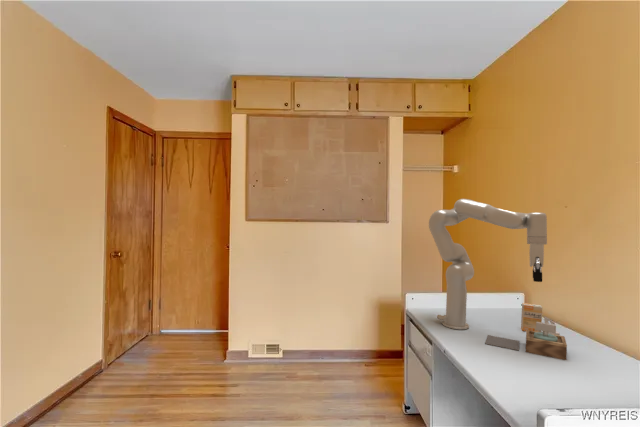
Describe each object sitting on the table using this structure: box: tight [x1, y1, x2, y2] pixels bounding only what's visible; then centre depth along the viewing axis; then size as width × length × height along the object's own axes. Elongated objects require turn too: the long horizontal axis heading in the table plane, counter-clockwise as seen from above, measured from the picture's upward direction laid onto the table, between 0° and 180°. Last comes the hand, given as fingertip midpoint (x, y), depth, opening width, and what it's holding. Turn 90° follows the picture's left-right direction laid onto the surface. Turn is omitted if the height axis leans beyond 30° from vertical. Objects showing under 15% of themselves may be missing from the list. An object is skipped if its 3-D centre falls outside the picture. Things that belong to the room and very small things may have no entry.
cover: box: [534, 321, 557, 342], centre depth 150 cm, size 8×8×7 cm
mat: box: [484, 334, 520, 352], centre depth 158 cm, size 13×13×1 cm
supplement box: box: [520, 302, 543, 332], centre depth 177 cm, size 8×5×13 cm, turn 68°
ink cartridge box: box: [543, 315, 561, 336], centre depth 164 cm, size 2×11×10 cm, turn 168°
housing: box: [525, 330, 568, 361], centre depth 150 cm, size 14×12×6 cm
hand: (537, 280), depth 155 cm, fingers open, 9 cm apart
